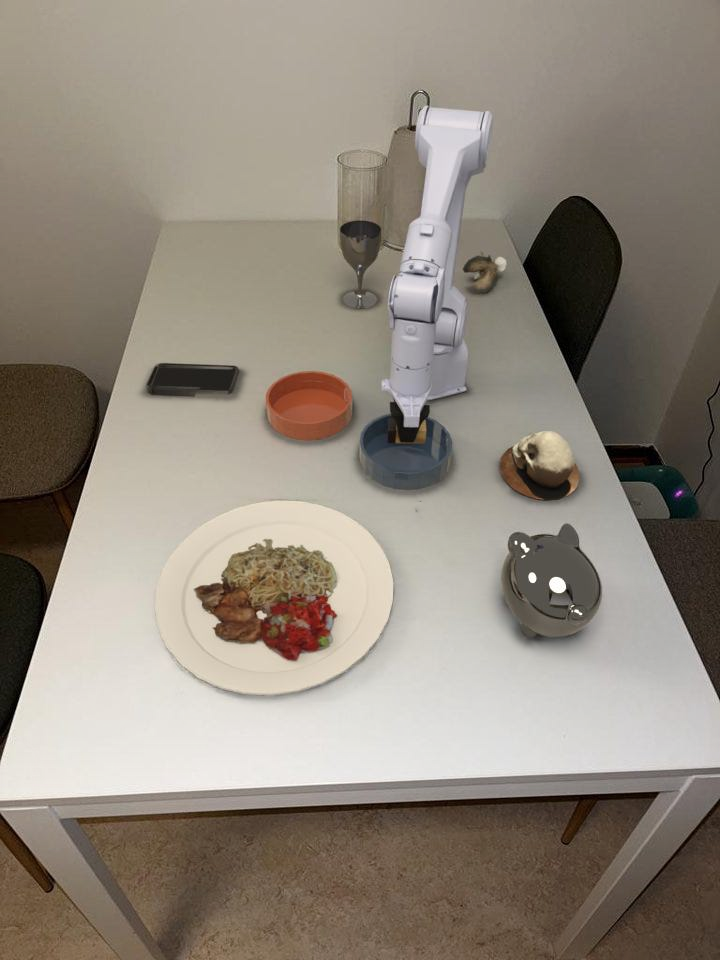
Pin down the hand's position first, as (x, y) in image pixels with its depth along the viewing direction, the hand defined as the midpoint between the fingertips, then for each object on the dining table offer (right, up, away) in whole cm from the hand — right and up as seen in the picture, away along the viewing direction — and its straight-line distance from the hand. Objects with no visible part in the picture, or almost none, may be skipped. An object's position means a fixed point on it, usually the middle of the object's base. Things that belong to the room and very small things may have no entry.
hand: (406, 433), depth 103 cm
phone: (-36, +10, +18) cm, 42 cm away
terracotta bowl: (-15, +4, +12) cm, 20 cm away
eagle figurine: (+19, +35, +44) cm, 60 cm away
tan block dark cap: (0, -1, 0) cm, 1 cm away
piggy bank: (+16, -24, -16) cm, 33 cm away
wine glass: (-7, +30, +39) cm, 50 cm away
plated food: (-18, -22, -14) cm, 32 cm away
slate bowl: (0, -4, +4) cm, 6 cm away
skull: (+20, -6, +2) cm, 21 cm away
